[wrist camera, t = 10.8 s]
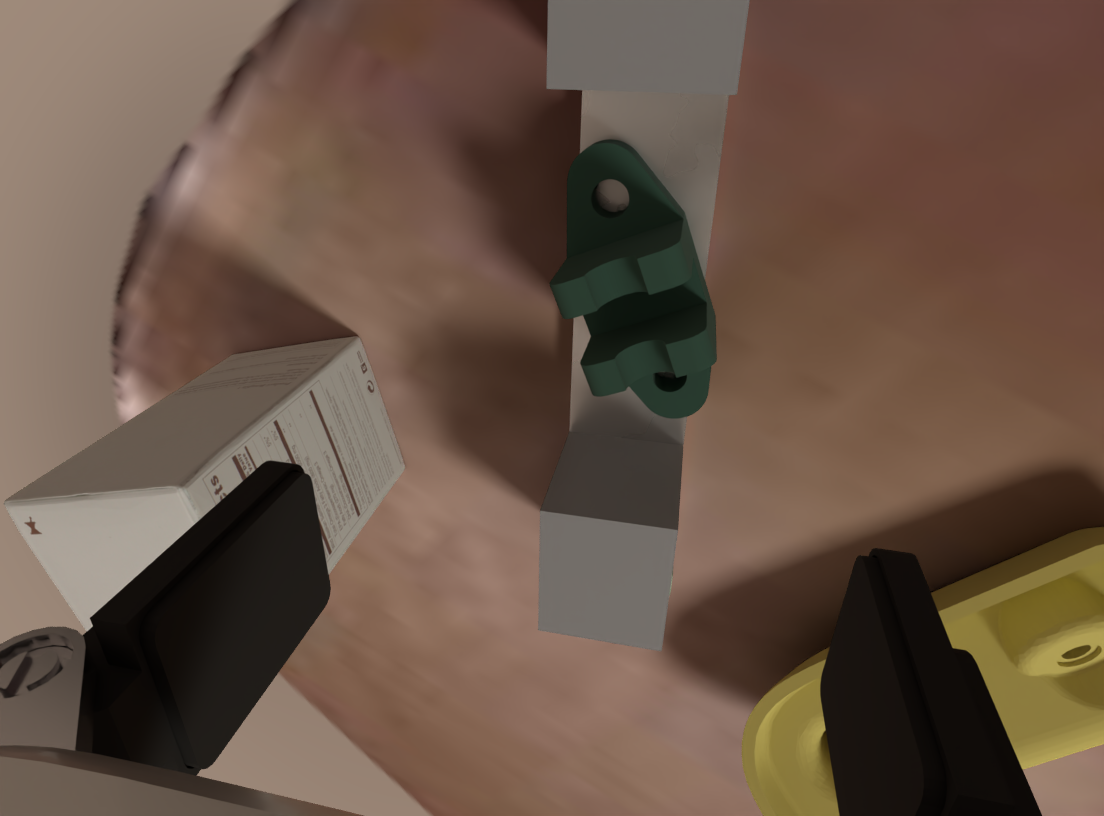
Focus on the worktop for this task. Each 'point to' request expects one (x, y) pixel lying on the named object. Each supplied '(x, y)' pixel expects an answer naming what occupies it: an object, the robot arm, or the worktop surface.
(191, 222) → the worktop surface
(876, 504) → the worktop surface
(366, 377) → the supplement box
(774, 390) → the worktop surface
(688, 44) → the block
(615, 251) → the mount
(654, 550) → the block
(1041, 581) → the plastic component
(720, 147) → the rail
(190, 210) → the worktop surface
